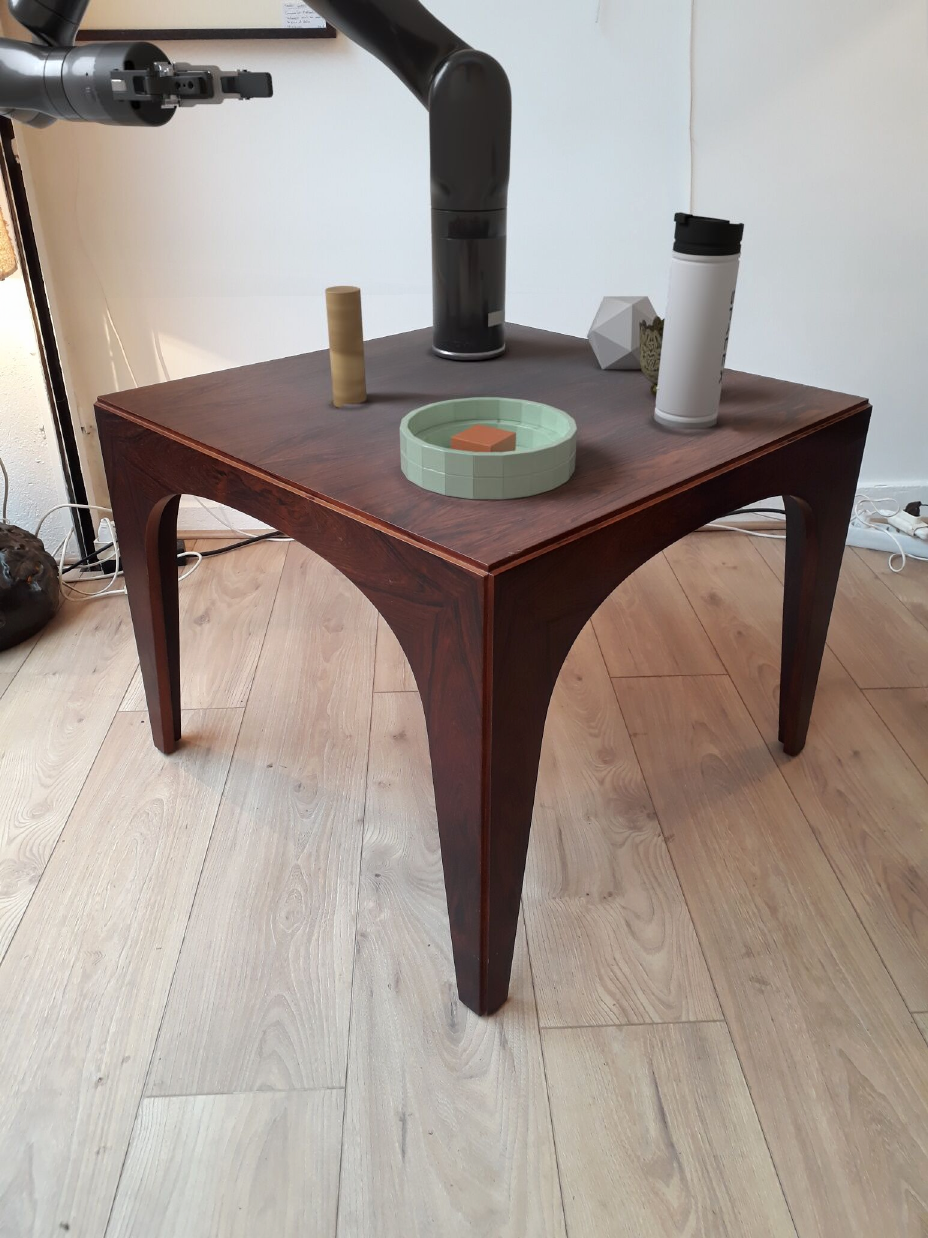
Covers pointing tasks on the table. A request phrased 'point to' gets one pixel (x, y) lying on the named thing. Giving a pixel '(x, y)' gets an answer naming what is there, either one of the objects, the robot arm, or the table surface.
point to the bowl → (488, 474)
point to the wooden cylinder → (346, 344)
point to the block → (484, 440)
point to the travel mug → (697, 320)
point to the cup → (651, 350)
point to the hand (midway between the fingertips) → (241, 84)
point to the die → (620, 330)
